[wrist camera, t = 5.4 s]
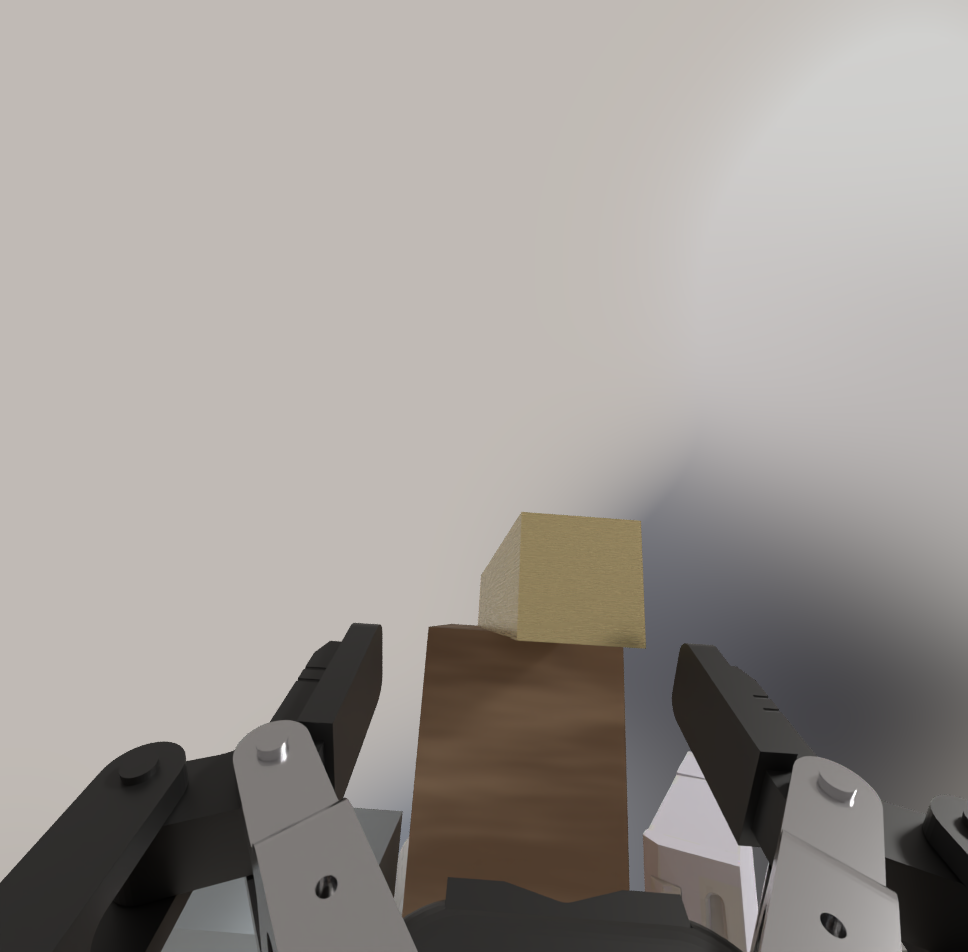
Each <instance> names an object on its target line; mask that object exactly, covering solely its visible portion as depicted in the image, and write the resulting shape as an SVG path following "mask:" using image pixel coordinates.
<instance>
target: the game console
mask: <svg viewBox="0 0 968 952" xmlns="http://www.w3.org/2000/svg"><path fill="white" fill-rule="evenodd" d="M643 845H644V875H645V877H644V878H645V892H655V893H668V894H680V895H681V898H682V901H683V904H684V907H685V910H686V913H687V916H688V919H689V920H691V921H694V922H696V923H698V924H701V925H703V926H705V927H707V928H709V929H711V930H712V931H714V932H716V933H717V934H719V935H720V936H722V937H724V938H725V939H727V940H728V941H730V942H731V943H732V944H734V945H735V946H736V947H738V948H739V949H740V950H742V951H743V952H750V949H751V944H752V939H753V934H754V930H755V925H756V920H757V915H758V905H757V894H756V885H755V873H754V862H753V853H752V847H751V846H738V844H737V842H736V840H735V838H734V836H733V834H732V832H731V830H730V828H729V826H728V824H727V822H726V820H725V818H724V816H723V814H722V812H721V810H720V808H719V806H718V804H717V802H716V800H715V798H714V796H713V794H712V792H711V790H710V787H709V785H708V783H707V781H706V779H705V777H704V775H703V773H702V771H701V769H700V767H699V765H698V763H697V761H696V759H695V757H694V755H693V753H692V752H687V755H686V756H685V758H684V760H683V762H682V763H681V765H680V767H679V769H678V770H677V775H676V777H675V779H674V781H673V783H672V785H671V787H670V789H669V791H668V793H667V795H666V797H665V798H664V801H663V802H662V804H661V806H660V808H659V810H658V812H657V814H656V815H655V817H654V819H653V821H652V823H651V825H650V827H649V829H648V830H647V829H646V830H645V832H644V834H643Z"/></svg>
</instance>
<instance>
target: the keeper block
mask: <svg viewBox="0 0 968 952" xmlns="http://www.w3.org/2000/svg"><path fill="white" fill-rule="evenodd" d="M353 809H354V811H355V813H356V816H357V818H358V820H359V822H360V824H361V827H362V829H363V831H364V833H365V835H366V838H367V840H368V842H369V844H370V847H371V849H372V851H373V853H374V855H375V858H376V860H377V862H378V864H379V867H380V869H381V871H382V873H383V875H384V878H385V880H386V882H387V884H388V887H389V889H390V891H391V893H392V895H393V898H394V894H395V884H396V873H397V863H398V852H399V842H400V832H401V822H402V811H389V810H375V809H362V808H353ZM161 952H258V949H257V944H256V938H255V933H254V928H253V922H252V917H251V911H250V906H249V901H248V895H247V890H246V885H245V879H244V877H242V878H238V879H235V880H231V881H227V882H223V883H220V884H216V885H212V886H209V887H205V888H201V889H197V890H194V891H193V892H192V894H191V895H190V897H189V899H188V901H187V903H186V905H185V907H184V909H183V911H182V913H181V914H180V916H179V918H178V920H177V922H176V924H175V926H174V928H173V930H172V932H171V934H170V935H169V937H168V939H167V941H166V943H165V945H164V947H163V949H162V951H161Z"/></svg>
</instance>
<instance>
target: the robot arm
mask: <svg viewBox="0 0 968 952" xmlns="http://www.w3.org/2000/svg"><path fill="white" fill-rule="evenodd" d="M381 685H382V627H381V625H378V624H363V623H353V624H352V625H351V626H350V628H349V630H348V632H347V633H346V635H345V637H344V639H343V640H342V642H337V641H329V642H328V643H327V644H325V645H324V646H323V647H321V648H320V649H319V650H318V651H316V652H315V653H314V654H313V656H312V657H311V659H310V660H309V662H308V664H307V665H306V668H305V669H304V670H303V671H302V673H301V675H300V676H299V677H298V681H296V682H295V684H294V685H293V687H292V689H291V690H290V691H289V693H288V695H287V696H286V698H285V699H284V701H283V702H282V704H281V706H280V707H279V709H278V710H277V712H276V713H275V715H274V716H273V718H272V720H271V721H270V723H267V724H264V725H262V726H260V727H258V728H256V729H254V730H253V731H251V732H250V733H248V734H247V735H246V736H245V737H244V738H243V739H242V740H241V741H240V742H239V744H238V745H237V747H236V749H235V750H234V751H231V752H228V753H226V754H221V755H217V756H211V757H206V758H201V759H196V760H191V761H186V756H185V751H184V749H183V748H182V747H181V746H180V745H178V744H175V743H172V742H155V743H150V744H146V745H142V746H140V747H137V748H134V749H132V750H130V751H128V752H126V753H124V754H123V755H121V756H119V757H118V758H116V759H115V760H113V761H112V762H111V763H110V764H108V765H107V766H106V767H105V768H104V769H103V770H102V771H101V772H100V773H99V774H98V775H97V776H96V778H95V779H94V780H93V781H92V782H91V783H90V784H89V785H88V786H87V788H86V789H85V790H84V791H83V792H82V793H81V794H80V795H79V796H78V797H77V799H76V800H75V801H74V802H73V803H72V804H71V805H70V806H69V807H68V809H67V810H66V811H65V812H64V813H63V814H62V815H61V816H60V817H59V818H58V820H57V821H56V822H55V823H54V824H53V825H52V826H51V827H50V829H49V830H48V831H47V832H46V833H45V834H44V835H43V836H42V837H41V838H40V839H39V841H38V842H37V843H36V844H35V845H34V846H33V847H32V848H31V849H30V851H29V852H28V853H27V854H26V855H25V856H24V857H23V858H22V859H21V861H20V862H19V863H18V864H17V865H16V866H15V867H14V868H13V869H12V870H11V872H10V873H9V874H8V875H7V876H6V877H5V878H4V879H3V880H2V882H1V883H0V952H161V951H162V949H163V947H164V945H165V943H166V941H167V939H168V937H169V935H170V934H171V932H172V930H173V928H174V926H175V924H176V922H177V920H178V918H179V916H180V914H181V913H182V911H183V909H184V907H185V905H186V903H187V901H188V899H189V897H190V895H191V894H192V892H193V891H194V890H197V889H201V888H205V887H209V886H212V885H216V884H220V883H223V882H227V881H231V880H235V879H238V878H242V877H244V879H245V885H246V890H247V895H248V901H249V906H250V911H251V917H252V922H253V928H254V933H255V938H256V944H257V949H258V952H743V951H742V950H740V949H739V948H738V947H736V946H735V945H734V944H732V943H731V942H730V941H728V940H727V939H725V938H724V937H722V936H720V935H719V934H717V933H716V932H714V931H712V930H711V929H709V928H707V927H705V926H703V925H701V924H698V923H696V922H694V921H691V920H689V919H688V916H687V913H686V910H685V907H684V904H683V901H682V898H681V895H680V894H668V893H655V892H640V891H628V890H621V891H617V892H613V893H608V894H604V895H600V896H596V897H591V898H587V899H583V900H579V901H575V902H569V903H565V902H560V901H557V900H554V899H552V898H549V897H546V896H543V895H541V894H538V893H535V892H533V891H530V890H527V889H524V888H522V887H519V886H516V885H513V884H511V883H508V882H505V881H495V880H482V879H468V878H455V877H448V879H447V889H446V899H445V900H441V901H437V902H433V903H431V904H428V905H426V906H423V907H421V908H419V909H417V910H415V911H413V912H412V913H410V914H408V915H406V916H405V917H404V918H402V915H401V913H400V911H399V909H398V906H397V904H396V902H395V900H394V898H393V895H392V893H391V891H390V889H389V887H388V884H387V882H386V880H385V878H384V875H383V873H382V871H381V869H380V867H379V864H378V862H377V860H376V858H375V855H374V853H373V851H372V849H371V847H370V844H369V842H368V840H367V838H366V835H365V833H364V831H363V829H362V827H361V824H360V822H359V820H358V818H357V816H356V813H355V811H354V809H353V807H352V805H351V803H350V802H349V800H348V799H347V798H343V797H344V794H345V791H346V788H347V786H348V783H349V780H350V777H351V775H352V772H353V769H354V766H355V764H356V761H357V758H358V755H359V752H360V750H361V747H362V744H363V741H364V739H365V736H366V733H367V730H368V728H369V725H370V722H371V719H372V716H373V714H374V711H375V708H376V705H377V703H378V699H379V695H380V691H381ZM672 706H673V712H674V716H675V718H676V721H677V723H678V725H679V727H680V729H681V731H682V733H683V735H684V737H685V739H686V741H687V743H688V745H689V747H690V749H691V751H692V753H693V755H694V757H695V759H696V761H697V763H698V765H699V767H700V769H701V771H702V773H703V775H704V777H705V779H706V781H707V783H708V785H709V787H710V790H711V792H712V794H713V796H714V798H715V800H716V802H717V804H718V806H719V808H720V810H721V812H722V814H723V816H724V818H725V820H726V822H727V824H728V826H729V828H730V830H731V832H732V834H733V836H734V838H735V840H736V842H737V844H738V846H751V847H761V848H762V850H763V852H764V854H765V856H766V858H767V859H768V861H769V863H768V867H767V871H766V876H765V881H764V885H763V891H762V895H761V900H760V906H759V910H758V915H757V920H756V925H755V930H754V934H753V939H752V944H751V949H750V952H902V947H901V942H902V943H903V945H904V946H905V948H906V949H907V951H908V952H968V800H967V799H965V798H961V797H957V796H952V795H938V796H935V797H934V798H933V799H932V800H931V803H930V806H929V808H928V811H927V814H924V813H921V812H918V811H914V810H911V809H908V808H905V807H902V806H898V805H895V804H892V803H888V802H885V801H882V800H880V798H879V797H878V795H877V793H876V792H875V791H874V790H873V788H872V787H871V786H870V785H868V783H867V782H866V781H864V780H863V779H862V778H861V777H860V776H858V775H857V774H855V773H854V772H852V771H851V770H849V769H847V768H846V767H844V766H842V765H840V764H838V763H836V762H833V761H831V760H828V759H824V758H820V757H817V756H816V755H815V753H814V752H813V751H812V750H811V749H810V747H809V746H808V745H807V743H806V742H805V741H804V740H803V739H802V737H801V736H800V735H799V734H798V732H797V731H796V730H795V729H794V727H793V726H792V725H791V724H790V722H789V721H788V720H787V719H786V717H785V716H784V715H783V714H782V713H781V712H779V709H778V708H777V706H776V705H775V704H774V703H773V701H772V700H771V699H768V695H767V694H766V693H765V692H764V690H763V689H762V688H761V687H760V685H759V684H758V683H757V682H756V680H754V679H753V678H751V677H750V676H749V675H747V674H746V673H745V672H743V671H742V670H741V669H739V668H738V667H735V666H730V665H729V663H728V662H727V661H726V659H725V658H724V657H723V656H722V654H721V653H720V652H719V650H718V649H717V648H716V647H715V646H713V645H702V644H683V645H682V646H681V648H680V652H679V657H678V663H677V669H676V675H675V680H674V686H673V692H672Z"/></svg>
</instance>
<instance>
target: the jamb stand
mask: <svg viewBox="0 0 968 952" xmlns="http://www.w3.org/2000/svg"><path fill="white" fill-rule="evenodd" d="M624 701H625V700H624V662H623V647H614V646H598V645H582V644H566V643H550V642H534V641H518V640H514V639H512V638H509V637H506V636H503V635H501V634H498V633H495V632H493V631H490V630H487V629H484V628H482V627H479V626H474V625H459V624H448V625H440V626H432V627H429V630H428V641H427V652H426V662H425V673H424V683H423V696H422V705H421V716H420V727H419V737H418V749H417V759H416V770H415V781H414V791H413V802H412V813H411V824H410V835H409V845H408V856H407V867H406V878H405V889H404V899H403V910H402V918H404V917H405V916H406V915H408V914H410V913H412V912H413V911H415V910H417V909H419V908H421V907H423V906H426V905H428V904H431V903H433V902H437V901H441V900H445V899H446V889H447V879H448V877H455V878H468V879H482V880H495V881H505V882H508V883H511V884H513V885H516V886H519V887H522V888H524V889H527V890H530V891H533V892H535V893H538V894H541V895H543V896H546V897H549V898H552V899H554V900H557V901H560V902H565V903H569V902H575V901H579V900H583V899H587V898H591V897H596V896H600V895H604V894H608V893H613V892H617V891H621V890H628V891H629V858H628V857H629V855H628V854H629V853H628V816H627V779H626V742H625V741H626V738H625V702H624Z"/></svg>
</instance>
